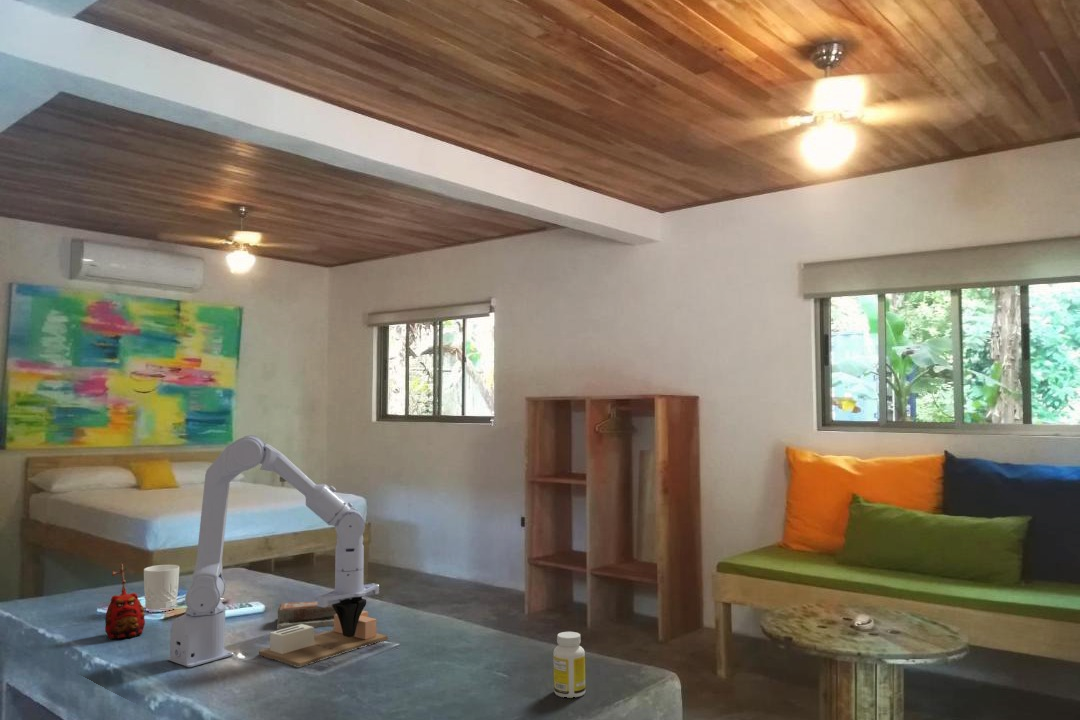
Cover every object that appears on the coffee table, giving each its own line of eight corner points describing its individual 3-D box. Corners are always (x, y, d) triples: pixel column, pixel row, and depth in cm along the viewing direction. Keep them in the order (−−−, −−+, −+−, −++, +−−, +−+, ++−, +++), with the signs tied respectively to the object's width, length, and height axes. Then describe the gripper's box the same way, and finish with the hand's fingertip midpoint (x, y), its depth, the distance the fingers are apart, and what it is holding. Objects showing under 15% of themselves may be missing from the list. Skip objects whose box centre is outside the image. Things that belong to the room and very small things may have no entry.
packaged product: (276, 610, 176) (277, 599, 185) (276, 632, 176) (277, 621, 185) (360, 603, 181) (357, 594, 191) (360, 625, 181) (357, 614, 190)
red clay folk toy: (108, 642, 167) (110, 570, 168) (101, 635, 173) (102, 565, 173) (147, 636, 172) (149, 565, 173) (139, 629, 178) (141, 560, 178)
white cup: (145, 606, 197) (146, 565, 197) (180, 604, 199) (181, 563, 200) (140, 615, 189) (141, 572, 190) (176, 612, 192) (177, 569, 192)
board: (299, 667, 151) (299, 663, 151) (258, 655, 158) (258, 650, 158) (387, 639, 168) (387, 635, 168) (346, 629, 176) (346, 625, 176)
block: (365, 639, 165) (365, 621, 166) (334, 631, 171) (334, 614, 172) (387, 632, 170) (387, 615, 170) (356, 625, 176) (356, 608, 176)
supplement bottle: (584, 687, 140) (583, 629, 140) (586, 698, 134) (586, 639, 135) (552, 687, 139) (552, 630, 140) (554, 699, 134) (554, 639, 135)
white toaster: (282, 654, 156) (282, 635, 157) (270, 650, 159) (270, 631, 159) (314, 644, 162) (314, 626, 163) (301, 641, 165) (301, 623, 165)
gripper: (333, 577, 157) (333, 647, 156) (389, 565, 169) (388, 630, 168) (311, 572, 161) (310, 641, 161) (366, 561, 173) (366, 625, 172)
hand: (348, 635), depth 165 cm, fingers closed
